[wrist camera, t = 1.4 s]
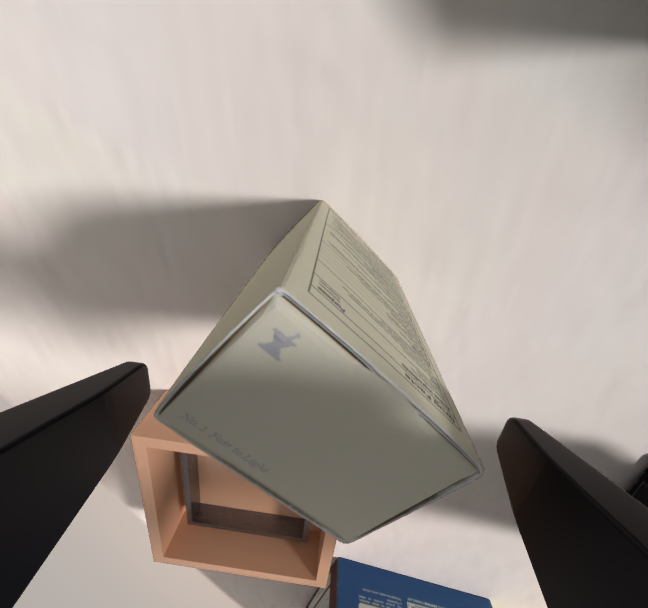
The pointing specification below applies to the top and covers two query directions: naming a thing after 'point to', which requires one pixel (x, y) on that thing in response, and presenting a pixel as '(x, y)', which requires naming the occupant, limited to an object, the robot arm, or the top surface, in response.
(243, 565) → the wooden cubby frame
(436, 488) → the skincare box
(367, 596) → the protein box
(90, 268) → the top surface
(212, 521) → the thin grey square frame
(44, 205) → the top surface
